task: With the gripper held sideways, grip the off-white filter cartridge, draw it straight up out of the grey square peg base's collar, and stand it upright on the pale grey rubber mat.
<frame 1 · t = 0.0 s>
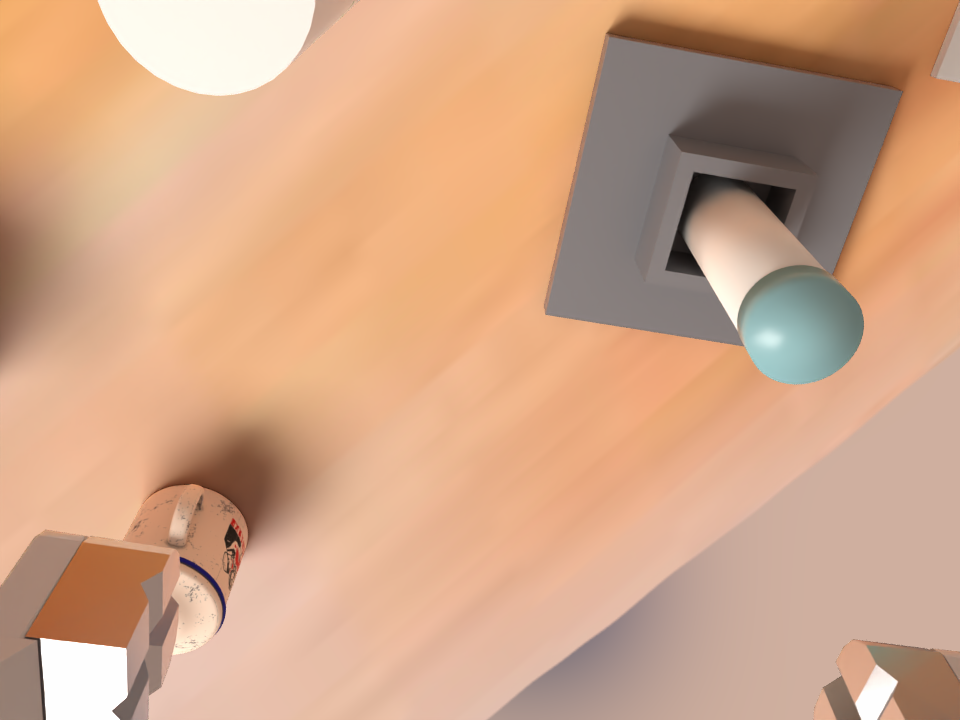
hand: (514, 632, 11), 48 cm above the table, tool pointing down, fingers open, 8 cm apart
grey square peg base: (708, 202, 58), on the table
teacup with lid: (197, 511, 70), on the table
filter cartridge: (713, 209, 57), point 1 cm above the table, touching grey square peg base
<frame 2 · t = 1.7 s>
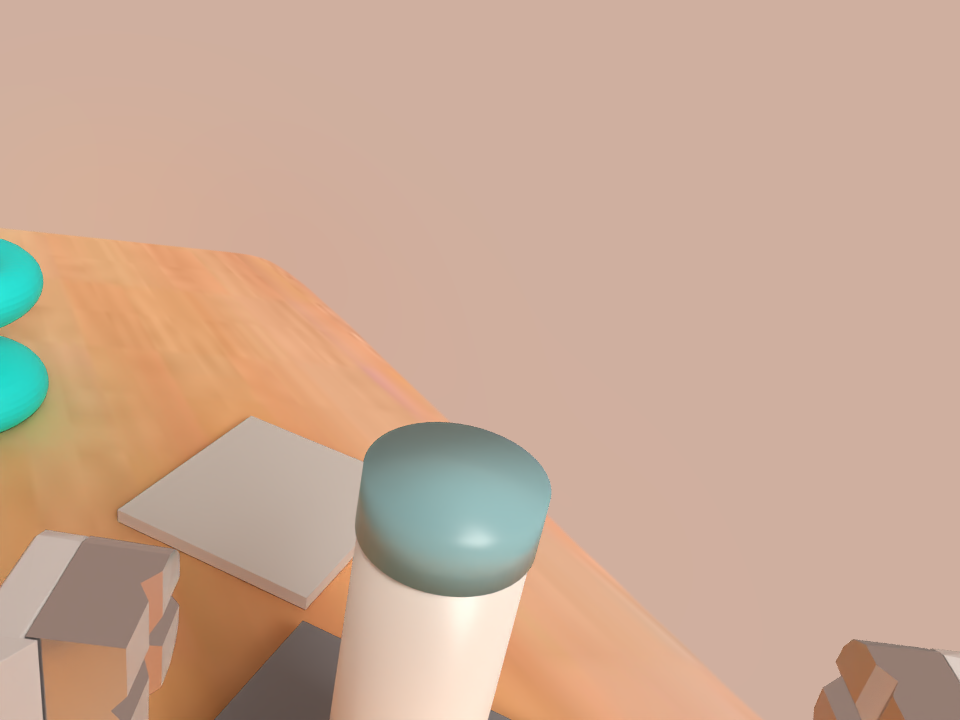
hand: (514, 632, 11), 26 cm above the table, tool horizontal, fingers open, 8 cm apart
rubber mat: (274, 506, 52), on the table
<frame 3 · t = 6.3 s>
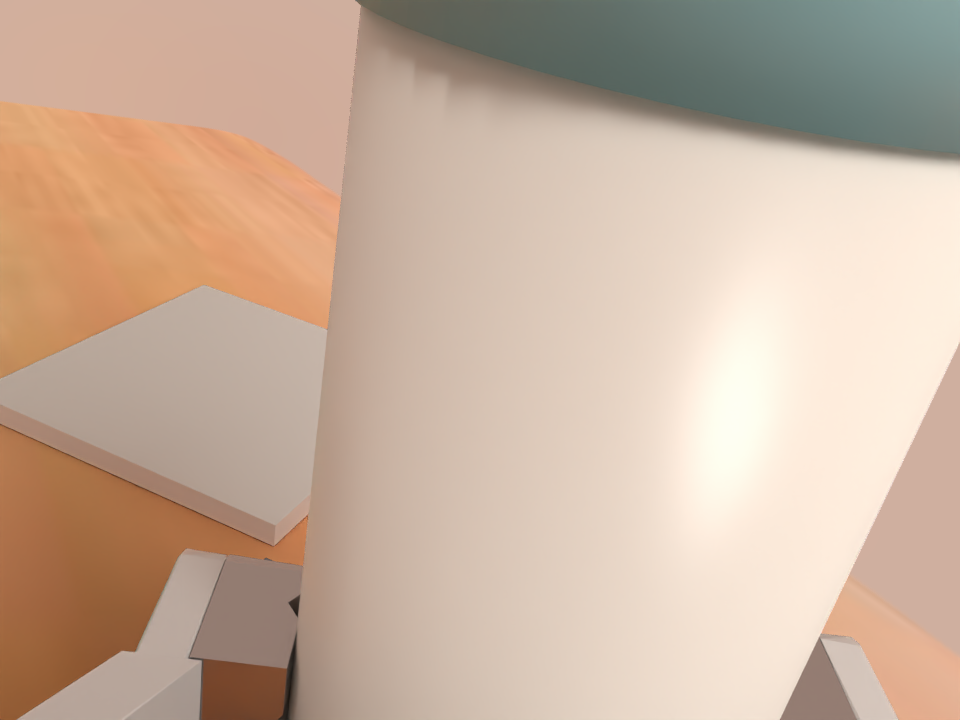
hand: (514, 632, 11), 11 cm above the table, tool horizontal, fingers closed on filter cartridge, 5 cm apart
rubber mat: (231, 399, 34), on the table
when the fingers open (11 cm above the table, at t = 13.2 s): filter cartridge stays where it is, resting on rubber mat.
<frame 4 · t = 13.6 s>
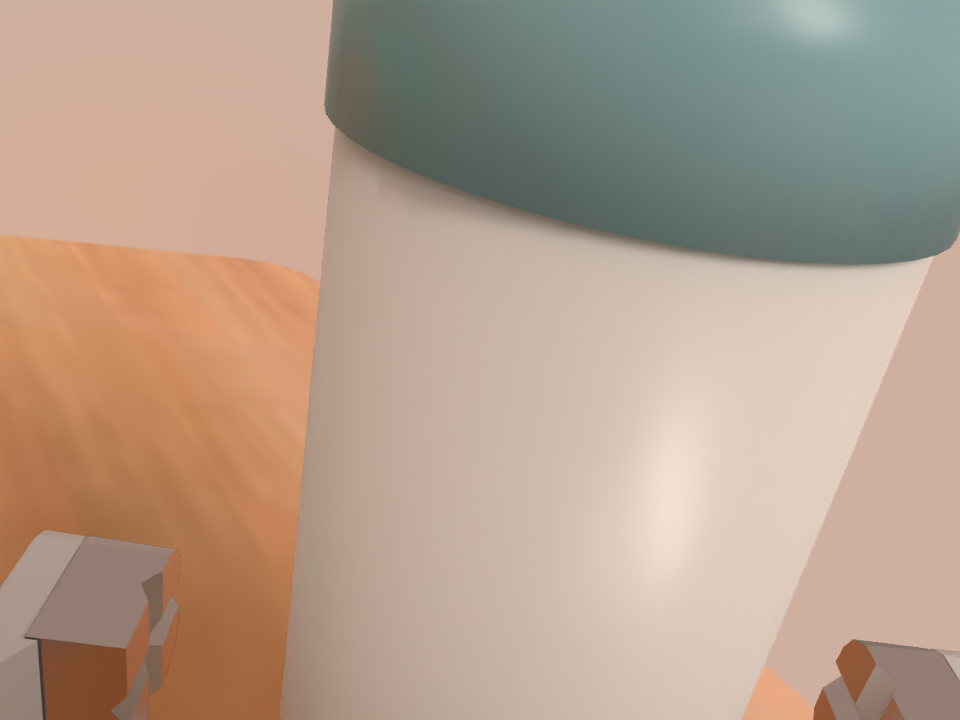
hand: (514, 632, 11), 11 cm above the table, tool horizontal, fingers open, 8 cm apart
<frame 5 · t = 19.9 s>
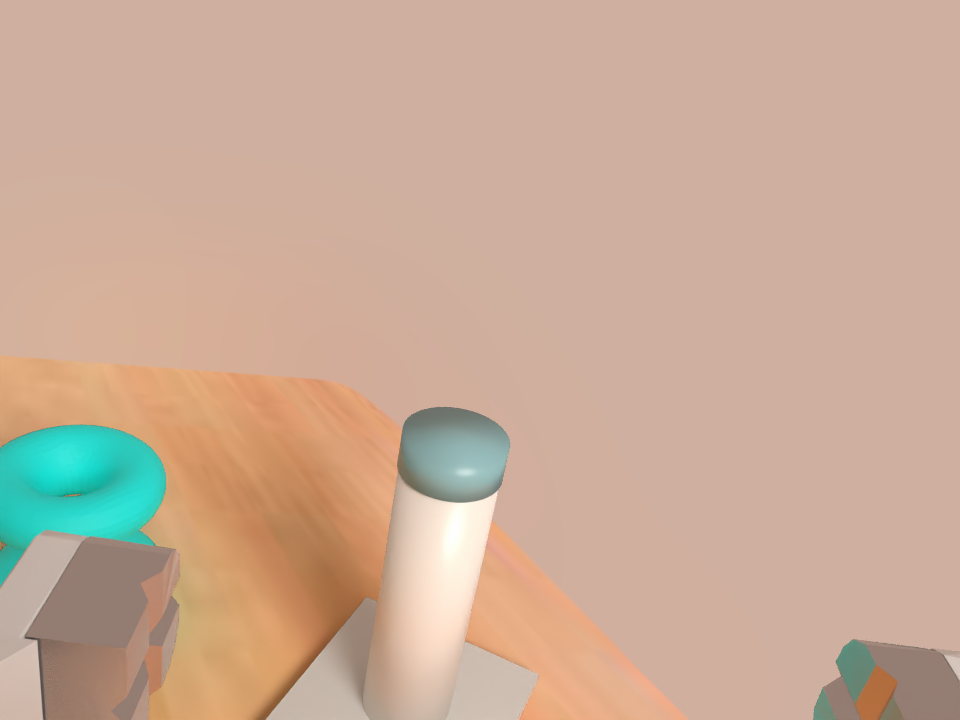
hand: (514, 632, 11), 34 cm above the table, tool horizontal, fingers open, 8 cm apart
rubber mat: (405, 710, 51), on the table
filter cartridge: (406, 700, 51), point 1 cm above the table, touching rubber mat
donuts: (77, 600, 54), on the table
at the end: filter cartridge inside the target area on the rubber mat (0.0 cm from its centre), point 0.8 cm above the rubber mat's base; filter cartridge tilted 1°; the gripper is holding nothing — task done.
